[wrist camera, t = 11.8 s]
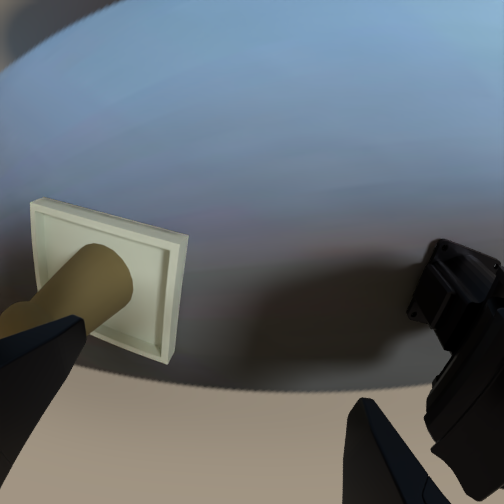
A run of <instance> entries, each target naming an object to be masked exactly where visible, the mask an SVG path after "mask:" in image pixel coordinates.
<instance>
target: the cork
mask: <svg viewBox="0 0 504 504" xmlns="http://www.w3.org/2000/svg"><path fill="white" fill-rule="evenodd" d="M132 294H133V280H132V277H131V274H130V271H129V269H128V267H127V266H126V264H125V262H124V261H123V259H122V258H121V257H120V256H119V255H118V254H117V253H116V252H115V251H114V250H112V249H110V248H108V247H107V246H105V245H102V244H97V243H92V244H87V245H85V246H84V247H82V248H81V249H80V250H79V251H78V252H77V253H75V254H74V255H73V256H72V257H71V258H70V259H69V260H68V261H67V262H66V263H65V264H64V265H63V266H62V267H61V268H60V269H59V270H58V271H57V272H56V273H55V274H54V275H53V276H52V277H51V278H50V280H49V281H48V282H47V283H46V284H45V285H44V286H43V287H42V288H41V289H40V290H39V291H38V292H37V293H36V294H35V295H34V297H33V298H32V299H31V300H30V301H29V302H28V301H21V302H17V303H14V304H12V305H11V306H10V307H8V308H7V309H6V310H5V311H4V312H3V313H2V314H1V316H0V339H2V338H5V337H8V336H11V335H14V334H17V333H19V332H22V331H25V330H28V329H31V328H34V327H37V326H40V325H43V324H46V323H49V322H51V321H54V320H57V319H60V318H63V317H66V316H69V315H72V314H74V315H77V316H79V317H81V318H83V319H84V321H85V328H86V336H87V335H89V334H90V333H91V332H93V331H94V330H95V329H96V328H98V327H99V326H100V325H102V324H103V323H104V322H105V321H107V320H108V319H109V318H111V317H112V316H113V315H115V314H116V313H117V312H118V311H120V310H121V309H122V308H124V307H125V306H126V305H127V304H128V303H129V301H130V300H131V297H132Z"/></svg>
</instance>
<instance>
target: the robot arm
mask: <svg viewBox="0 0 504 504" xmlns="http://www.w3.org/2000/svg"><path fill="white" fill-rule="evenodd" d="M444 244H446V246H445V248H443V249H442V246H443V245H444ZM495 264H496V266H495V267H494V265H495ZM412 312H415V313H414V314H411V313H412ZM406 313H407V316H408V318H409V319H410V320H414V321H418V322H422V323H427V324H429V326H430V328H431V329H433V330H434V332H435V333H436V335H437V337H438V339H439V341H440V343H441V345H442V347H443V349H444V350H446V351H449V352H450V354H451V355H452V356H451V358H450V359H449V361H448V362H447V364H446V365H445V367H444V368H443V370H442V371H441V373H440V374H439V375H437V376H436V377H435V379H434V380H433V382H432V390H431V391H430V393H429V395H428V397H427V401H426V412H427V413H426V415H425V416H424V421H425V424H426V427H427V429H428V432H429V433H430V435H431V437H432V439H433V440H434V441H435V442H436V444H435V445H434V446H433V447H432V448H431V452H432V453H433V454H435V455H436V456H438V457H439V458H441V459H442V460H443V461H444V462H445V463H446V464H447V465H448V466H449V467H450V468H451V469H452V470H453V472H454V474H455V475H456V477H457V478H458V480H459V482H460V484H461V486H462V488H463V490H464V491H465V493H466V494H467V495H468V496H470V497H471V498H473V499H474V500H476V501H483V500H484V499H486V498H487V497H488V496H490V495H491V494H492V493H494V492H495V491H496V490H498V489H504V267H503V266H501V263H500V261H499V260H497V259H496V258H493V257H491V256H488V255H486V254H483V253H481V252H478V251H476V250H473V249H471V248H468V247H465V246H463V245H460V244H458V243H455V242H452V241H449V240H447V239H441V240H439V241H438V243H437V245H436V248H435V250H434V253H433V255H432V257H431V260H430V262H429V264H428V265H427V266H426V268H425V270H424V272H423V275H422V277H421V279H420V281H419V283H418V286H417V288H416V290H415V292H414V294H413V299H412V302H411V304H410V306H409V308H408V310H407V312H406ZM86 338H87V336H86V328H85V321H84V319H83V318H81V317H79V316H77V315H74V314H72V315H69V316H66V317H63V318H60V319H57V320H54V321H51V322H49V323H46V324H43V325H40V326H37V327H34V328H31V329H28V330H25V331H22V332H19V333H17V334H14V335H11V336H8V337H5V338H2V339H0V488H1V486H2V484H3V482H4V480H5V478H6V477H7V475H8V473H9V471H10V469H11V467H12V465H13V464H14V462H15V460H16V458H17V456H18V455H19V453H20V451H21V450H22V448H23V446H24V445H25V443H26V441H27V439H28V438H29V436H30V434H31V433H32V431H33V430H34V428H35V426H36V425H37V423H38V422H39V420H40V418H41V417H42V415H43V414H44V412H45V410H46V409H47V407H48V406H49V404H50V403H51V401H52V400H53V398H54V396H55V395H56V393H57V392H58V390H59V389H60V387H61V386H62V384H63V383H64V381H65V380H66V378H67V376H68V375H69V373H70V371H71V369H72V367H73V365H74V363H75V362H76V360H77V358H78V356H79V354H80V352H81V350H82V349H83V347H84V345H85V343H86ZM342 498H343V500H342V504H451V503H450V502H449V501H448V499H447V498H446V497H445V496H444V495H443V494H442V492H441V491H440V490H439V488H438V487H437V486H436V484H435V483H434V482H433V481H432V479H431V478H430V476H428V474H427V472H426V471H425V469H424V468H423V467H422V465H421V464H420V463H419V461H418V460H417V458H416V457H415V456H414V454H413V453H412V452H411V450H410V449H409V447H408V446H407V445H406V443H405V442H404V441H403V439H402V438H401V437H400V435H399V434H398V433H397V431H396V430H395V428H394V427H393V426H392V424H391V423H390V422H389V420H388V419H387V417H386V416H385V415H384V413H383V412H382V411H381V409H380V408H379V407H378V405H377V404H376V403H375V401H374V400H373V399H370V398H363V397H362V398H360V399H359V400H358V401H357V403H356V404H355V405H354V407H353V409H352V410H351V411H350V413H349V415H348V419H347V428H346V438H345V447H344V457H343V497H342Z"/></svg>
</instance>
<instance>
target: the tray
mask: <svg viewBox="0 0 504 504" xmlns="http://www.w3.org/2000/svg"><path fill="white" fill-rule="evenodd" d="M30 214H31V234H32V247H33V258H34V267H35V275H36V283H37V289H38V291H39V290H40V289H41V288H42V287H43V286H44V285H45V284H46V283H47V282H48V281H49V280H50V278H51V277H52V276H53V275H54V274H55V273H56V272H57V271H58V270H59V269H60V268H61V267H62V266H63V265H64V264H65V263H66V262H67V261H68V260H69V259H70V258H71V257H72V256H73V255H74V254H75V253H77V252H78V251H79V250H80V249H81V248H82V247H84V246H85V245H87V244H92V243H97V244H102V245H105V246H107V247H108V248H110V249H112V250H114V251H115V252H116V253H117V254H118V255H119V256H120V257H121V258H122V259H123V261H124V262H125V264H126V266H127V267H128V269H129V271H130V274H131V277H132V280H133V294H132V297H131V300H130V301H129V303H128V304H127V305H126V306H125V307H124V308H122V309H121V310H120V311H118V312H117V313H116V314H115V315H113V316H112V317H111V318H109V319H108V320H107V321H105V322H104V323H103V324H102V325H100V326H99V327H98V328H96V329H95V330H94V331H93V332H91V333H90V335H93V336H95V337H97V338H99V339H102V340H104V341H107V342H109V343H111V344H114V345H116V346H119V347H121V348H124V349H126V350H129V351H131V352H134V353H137V354H139V355H142V356H145V357H147V358H150V359H153V360H156V361H158V362H161V363H164V364H167V365H168V363H169V361H170V359H171V357H172V355H173V354H174V352H175V343H176V333H177V323H178V314H179V305H180V297H181V289H182V281H183V273H184V266H185V259H186V252H187V245H188V238H189V235H186V234H182V233H178V232H174V231H171V230H167V229H163V228H159V227H155V226H152V225H148V224H144V223H140V222H137V221H133V220H129V219H125V218H121V217H118V216H114V215H110V214H106V213H103V212H99V211H95V210H91V209H88V208H84V207H80V206H76V205H72V204H69V203H65V202H61V201H57V200H54V199H50V198H46V197H43V198H40V199H37V200H35V201H32V202H30Z"/></svg>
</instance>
